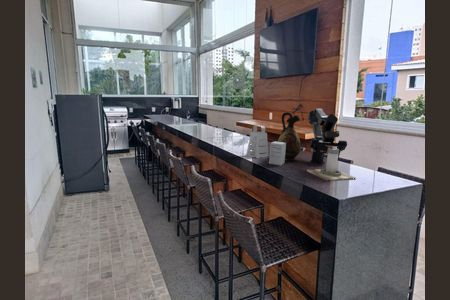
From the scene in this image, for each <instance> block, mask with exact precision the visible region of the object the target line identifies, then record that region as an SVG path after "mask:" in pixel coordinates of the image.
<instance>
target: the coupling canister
mask: <svg viewBox="0 0 450 300" xmlns="http://www.w3.org/2000/svg"><path fill="white" fill-rule="evenodd" d="M338 154H339V149H337V147H336V148H335V147H328V150H327V158H326V164H325V169H326V172H327V173H334V174H335V173H336V170H337V166H338V159H339V158H338Z"/></svg>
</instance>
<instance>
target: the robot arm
mask: <svg viewBox="0 0 450 300" xmlns="http://www.w3.org/2000/svg"><path fill="white" fill-rule="evenodd" d="M307 120H308V121H307V122H308V123H309V125H311V126H312V132H313V138H312V139H311V140H310V143H309V148H310V152H311V153H312V154H311V159H309V161H310V162H313V163H314V164H323V163H324V164H325V163H326V161H324V159H325V154H328V148H329V147H332V148H335V147H336V149H339V154H338V159H339V158H340V154H341V152H343V151H345V150H346V148H347V146H348V142H347V140H340V139H339V140H338V141H337V142H335V141H336V138H339V137H340V130H333V129H334V128H335V127H336V125H337V123H338V121H339V118H338V116H336V115H334V114H333V113H329V114H328V115H327V114H326V113H325V112H324V110H323V108H314V109H313V110H311V111H309V113H308V114H307Z"/></svg>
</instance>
